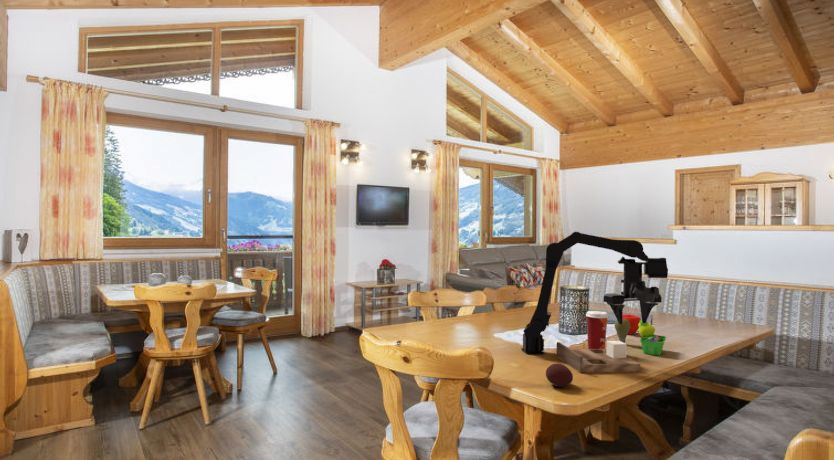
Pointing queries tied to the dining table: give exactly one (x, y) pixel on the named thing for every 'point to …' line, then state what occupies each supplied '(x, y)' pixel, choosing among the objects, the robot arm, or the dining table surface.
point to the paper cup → (596, 329)
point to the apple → (632, 322)
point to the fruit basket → (650, 339)
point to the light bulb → (622, 329)
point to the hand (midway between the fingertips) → (632, 323)
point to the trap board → (594, 360)
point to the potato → (559, 375)
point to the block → (616, 349)
